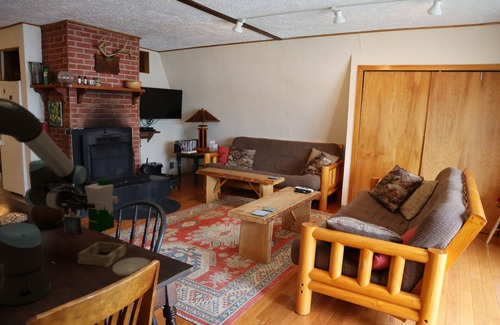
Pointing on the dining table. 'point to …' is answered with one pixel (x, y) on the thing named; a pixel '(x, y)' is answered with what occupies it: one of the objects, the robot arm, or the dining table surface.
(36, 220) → the wooden sphere
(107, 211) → the soya milk
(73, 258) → the dining table surface
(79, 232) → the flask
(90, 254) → the shallow beige tray
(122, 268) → the pad
